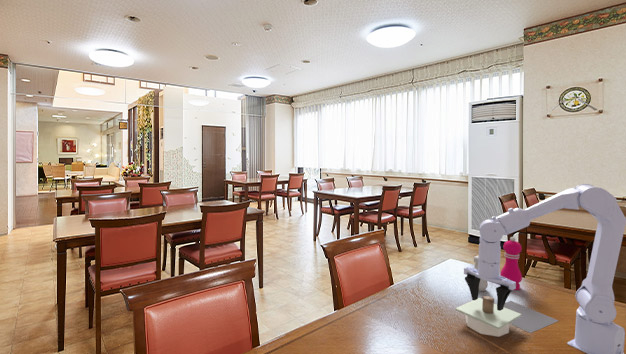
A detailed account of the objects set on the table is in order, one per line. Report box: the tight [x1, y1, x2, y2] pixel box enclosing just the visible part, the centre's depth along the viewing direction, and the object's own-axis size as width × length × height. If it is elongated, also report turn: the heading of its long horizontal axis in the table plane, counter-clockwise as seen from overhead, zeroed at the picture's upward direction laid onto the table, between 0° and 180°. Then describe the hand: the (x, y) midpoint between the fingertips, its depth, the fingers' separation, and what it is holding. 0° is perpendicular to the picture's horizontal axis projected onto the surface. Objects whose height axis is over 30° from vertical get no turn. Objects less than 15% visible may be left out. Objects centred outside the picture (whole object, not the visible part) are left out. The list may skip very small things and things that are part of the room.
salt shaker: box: [473, 255, 489, 292], centre depth 123 cm, size 6×6×13 cm
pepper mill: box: [500, 236, 523, 291], centre depth 125 cm, size 7×7×20 cm
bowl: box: [464, 315, 510, 337], centre depth 98 cm, size 11×11×4 cm
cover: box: [455, 295, 521, 329], centre depth 98 cm, size 13×13×5 cm
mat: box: [504, 300, 559, 334], centre depth 104 cm, size 15×15×1 cm
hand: (487, 304), depth 98 cm, fingers open, 7 cm apart
